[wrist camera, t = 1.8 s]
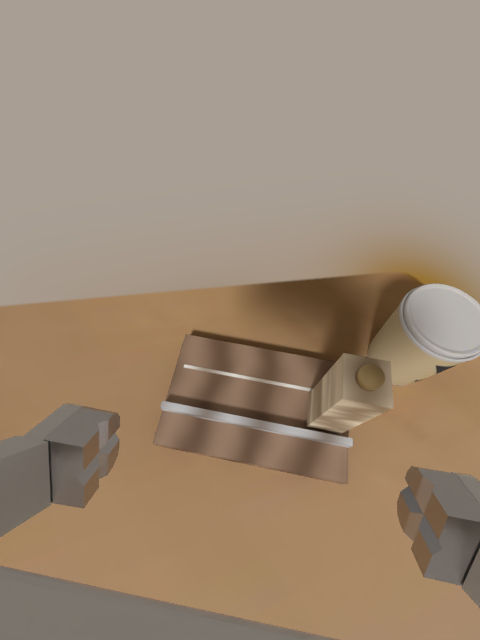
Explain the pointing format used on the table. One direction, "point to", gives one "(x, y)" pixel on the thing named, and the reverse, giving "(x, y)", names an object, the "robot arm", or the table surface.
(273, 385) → the board
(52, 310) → the table surface
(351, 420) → the beige tall block
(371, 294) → the table surface
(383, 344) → the coffee cup
